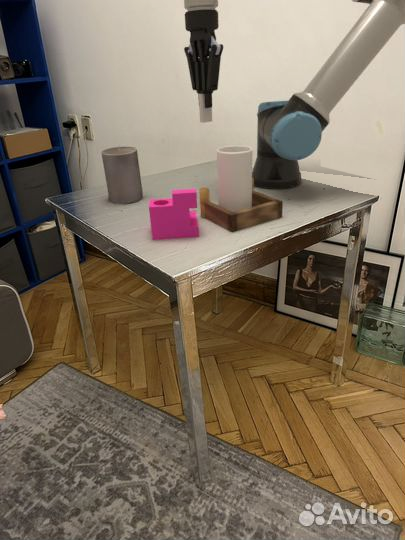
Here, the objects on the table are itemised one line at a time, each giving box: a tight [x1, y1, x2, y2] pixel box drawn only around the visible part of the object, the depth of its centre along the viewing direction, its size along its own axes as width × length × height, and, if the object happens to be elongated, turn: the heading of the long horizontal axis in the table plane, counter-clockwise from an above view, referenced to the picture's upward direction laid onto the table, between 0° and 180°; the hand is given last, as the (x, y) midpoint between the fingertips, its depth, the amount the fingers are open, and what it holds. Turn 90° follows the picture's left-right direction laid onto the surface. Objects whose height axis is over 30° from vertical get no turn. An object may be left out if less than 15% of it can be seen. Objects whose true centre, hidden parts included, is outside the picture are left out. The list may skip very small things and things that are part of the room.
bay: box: [198, 178, 284, 233], centre depth 97 cm, size 16×13×7 cm
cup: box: [216, 144, 253, 212], centre depth 97 cm, size 8×8×16 cm
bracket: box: [148, 188, 200, 241], centre depth 92 cm, size 12×10×10 cm
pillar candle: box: [101, 146, 144, 205], centre depth 112 cm, size 10×10×15 cm
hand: (206, 121), depth 101 cm, fingers closed
